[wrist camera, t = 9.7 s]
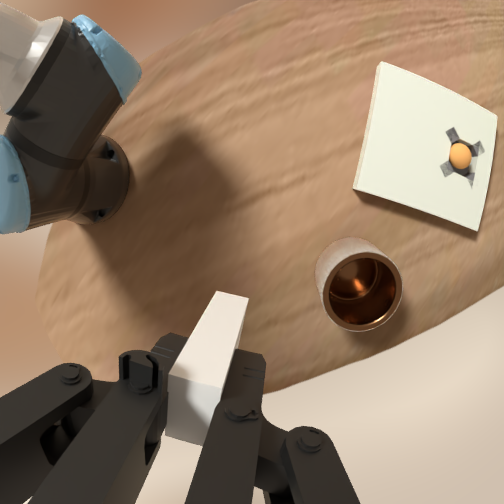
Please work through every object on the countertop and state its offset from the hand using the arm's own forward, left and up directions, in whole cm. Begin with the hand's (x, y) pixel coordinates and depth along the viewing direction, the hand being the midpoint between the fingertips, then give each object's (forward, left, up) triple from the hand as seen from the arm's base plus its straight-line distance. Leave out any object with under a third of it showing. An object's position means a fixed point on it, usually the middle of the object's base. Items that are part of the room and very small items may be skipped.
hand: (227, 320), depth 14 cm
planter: (+14, -4, -32) cm, 35 cm away
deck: (+22, +18, -32) cm, 43 cm away
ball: (+26, +18, -30) cm, 44 cm away
